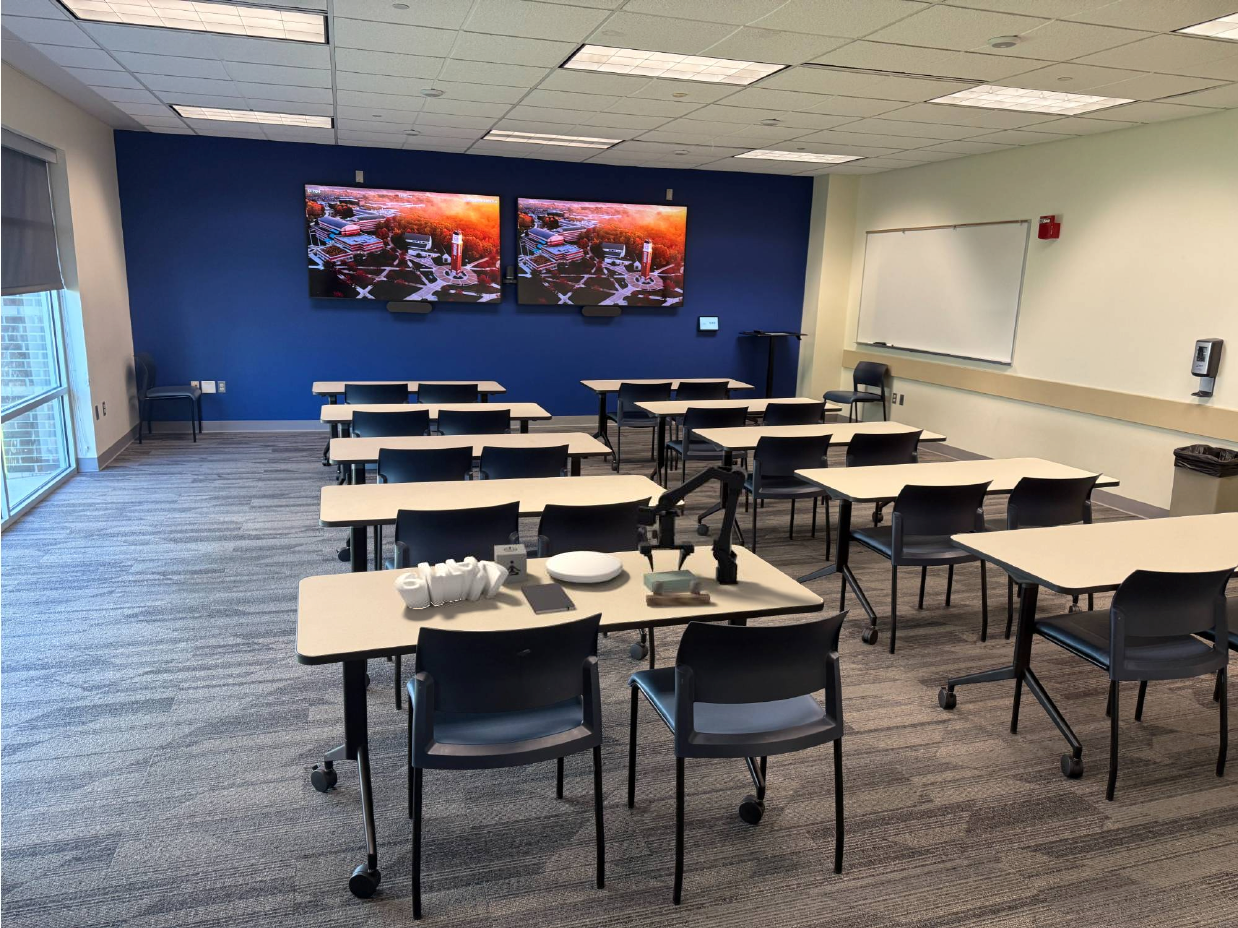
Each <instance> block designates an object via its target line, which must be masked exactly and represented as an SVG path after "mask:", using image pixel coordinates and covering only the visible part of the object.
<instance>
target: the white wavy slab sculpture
mask: <svg viewBox="0 0 1238 928" xmlns="http://www.w3.org/2000/svg"><path fill="white" fill-rule="evenodd" d="M434 565H435V566H434V567H435V573H434V571H433V570H432V568H431V567H430V565H429V563H428V562H421V563H418V564H417V567H418V568H417V569H418V572H419V577H420V579H419V578H418V575H417V572H414V571H413V572H407V573H403V574H401V575H400V576H398V578H397V579H396V580H395V581H394V587H395V589H396V590H397V592H398V593H399V595H400V597H401V599H402V600H403V602H404V604H405V605H406V607H407V606H408V607H411V608H423V607H427V606H428V605H430V603H431V602H432V603H433V604H434V605H441V604H443V602H450V601H455V600H460V599H461V600H464V601H466V600H467V599H468V598H469V599H468V600H469V601H470V600H476V601H478V600H479V598H480V595H481V594H483V596H484V597H485V598H489V599H494V597H495V596H496V595H497V594H498V592H499V590H500V588H501V587H502V585H503V584H504V583H503V582H504V580H505V579H506V577H507V576H508V574H509V572H508V570H507V569H506V568H504V567H503V566H501V565H499V564H496V563H495V562H493V561H487V560H480V561H478V560H477V559H476V558H475V557H474V556H467V557H465V558H464V560H463V562H461V561H460V562H456V561H455V559H453V558H452V559H446V561H445V563H444V562H441V563H436V564H434ZM481 592H482V593H481ZM466 598H467V599H466ZM465 599H466V600H465ZM461 600H460V601H461ZM408 607H407V608H408Z"/></svg>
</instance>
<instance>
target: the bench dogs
mask: <svg viewBox="0 0 1238 928" xmlns="http://www.w3.org/2000/svg"><path fill="white" fill-rule="evenodd" d="M701 583H702V582H701V580H698V579H697V580H692V581H691V584H690V591H689V593H677V594H675V593H672V594H671V593H670V594H668V593H667V594H664V591H663V582H662V581H654V582H653V593H652V594H646V595H645V604H646V603H647V604H646V606H647V607H649V606H648V605H651V606H650V607H654V606H655V607H657V606H659V605H660V606H686V605H687V606H689V605H692V606H693V605H696V604H697V605H710V604H711V595H710V593H701ZM697 605H696V606H697ZM660 606H659V607H660Z"/></svg>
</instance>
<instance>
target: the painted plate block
mask: <svg viewBox="0 0 1238 928" xmlns="http://www.w3.org/2000/svg"><path fill="white" fill-rule="evenodd" d="M692 580H698V577H697V576H696V575H695V574H694V573H693V572H691V571H690V570H689V569H681V570H678V569H677V570H670V571H661V572H650V573H648V572H647V573H643V585H644V586H645V587H646V588H647V589H648V591H649V592H650V593H652V592H653V582H654V581H662V582H663V592H669V590H672V591H679V590H680V589H681V590H688V588H690V584H691V581H692Z"/></svg>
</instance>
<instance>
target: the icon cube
mask: <svg viewBox="0 0 1238 928" xmlns="http://www.w3.org/2000/svg"><path fill="white" fill-rule="evenodd" d="M493 549H494V551H493V552H494V558H493V559H494V563H496V564H499V565H501V566H503V567H504V568H506V569H507V570H508V572H509V574H508V576H507V577H506V579H505V580H504V582H503V584H506V583H507V584H508V583H523V582H528V567H527V566H528V561H527V559H528V554H527V550H526V547H525V545H524V543H519V544H502V545H501V544H500V545H499V544H498V545H494V547H493Z"/></svg>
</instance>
